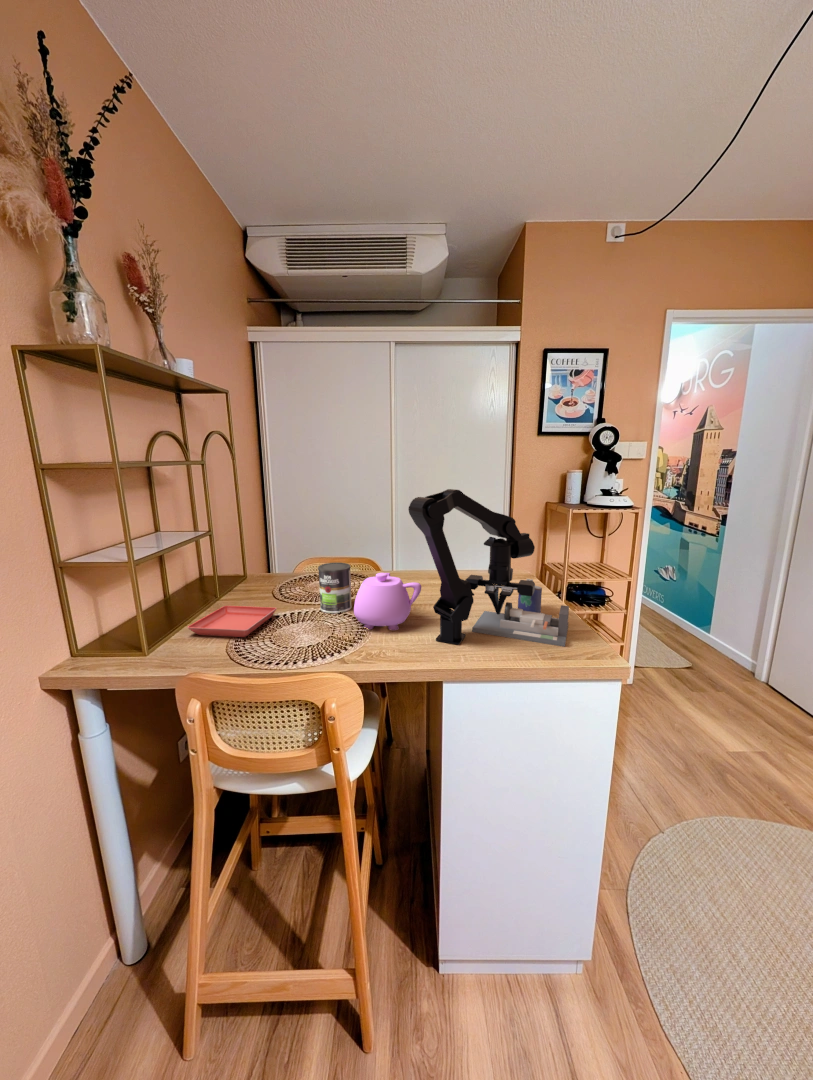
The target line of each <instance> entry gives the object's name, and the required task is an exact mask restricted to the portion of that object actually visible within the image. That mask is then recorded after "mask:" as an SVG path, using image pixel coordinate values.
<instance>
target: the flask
mask: <svg viewBox="0 0 813 1080" xmlns="http://www.w3.org/2000/svg"><path fill="white" fill-rule="evenodd" d="M525 580H528V581H533V582H534V579H532V578H526V579H525ZM542 592H543V586H542V587H541V586H539V585H535V591H534V593H533V596H524V595H520V594H519V593H518V597H517V598H518V599H517V609H523V611H529V612H536V613H542V595H543V593H542Z"/></svg>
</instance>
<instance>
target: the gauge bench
mask: <svg viewBox="0 0 813 1080" xmlns="http://www.w3.org/2000/svg"><path fill="white" fill-rule="evenodd" d="M569 612H570V605H563V604H561V605H560V608H559V613H558V617H557V618H556V617H552V622H551V627H550V626H547V628H546V630H545V629H543V625H536V624H535V625H534V627H531V624H529V623H523V622H520V618H519V617H512V616H511V620H510V621H509V620H505V619H504V612H500V614H497V613H496V611H488V610H484V611H483V612H482V614H481V615H480V616H479V617H478V618H477V621H476V622H475V623H474V624H473V626H472V628H471V632H472V633H478V634H484V635H485V634H486V635H491V636H496V637H503V638H510V639H516V640H522V641H528V642H532V643H533V642H534V643H539V644H546V645H552V646H553V645H554V646H558V647H566V644H567V643H566V642H567V636H568V631H569V629H568V628H569V614H570V613H569Z"/></svg>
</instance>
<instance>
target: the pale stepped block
mask: <svg viewBox="0 0 813 1080" xmlns="http://www.w3.org/2000/svg"><path fill="white" fill-rule="evenodd" d="M503 613H504V619H505V620H509V621H510V620H511V616H512V617H519V618H520V622H523V623H529V624H531V627H534V625H535V624H536V625H543V619H544V616H545V614H546V613H543V612H541V613H536V612H529V611H523V609H518V607H513V603H512V602H509V601H506V603H505V606H504V612H503Z"/></svg>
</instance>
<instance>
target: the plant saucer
mask: <svg viewBox="0 0 813 1080" xmlns="http://www.w3.org/2000/svg"><path fill="white" fill-rule="evenodd" d="M277 609H278V608H277V607H269V606H268V607H267V606H248V605H247V606H246V605H245V606H244V605H223V606H221V607H219V608H218V609H216V610H214V611H213V612H211V613H209V614H207V615H205V616H204V617H201V618H200V619H198V620H196V621H195V622H193V623H192V624H189V625H188V626H187V627H186V628H187V629H189V630H190V631H192V632H193V633H194V634H197V635H198V636H211V637H212V636H214V637H229V638H230V637H231V638H232V637H233V638H234V637H235V638H246V637H248V636H249V635H250V634H251V633H253V632H254V631H256V630H257V629H258V628H259V627H260V626H262V625H263V624H265V623H266V622H267V621H268V620H269V619H271V618H272V616H273V615H274V614H275V612H276V611H277Z"/></svg>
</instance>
